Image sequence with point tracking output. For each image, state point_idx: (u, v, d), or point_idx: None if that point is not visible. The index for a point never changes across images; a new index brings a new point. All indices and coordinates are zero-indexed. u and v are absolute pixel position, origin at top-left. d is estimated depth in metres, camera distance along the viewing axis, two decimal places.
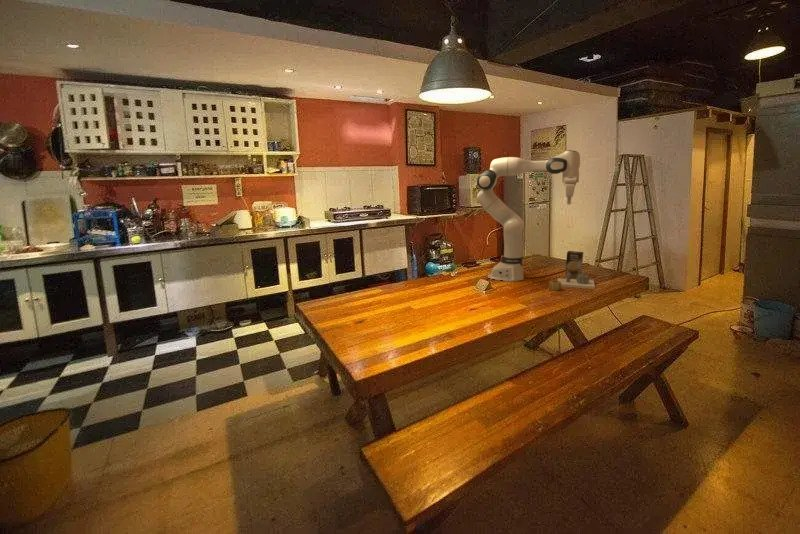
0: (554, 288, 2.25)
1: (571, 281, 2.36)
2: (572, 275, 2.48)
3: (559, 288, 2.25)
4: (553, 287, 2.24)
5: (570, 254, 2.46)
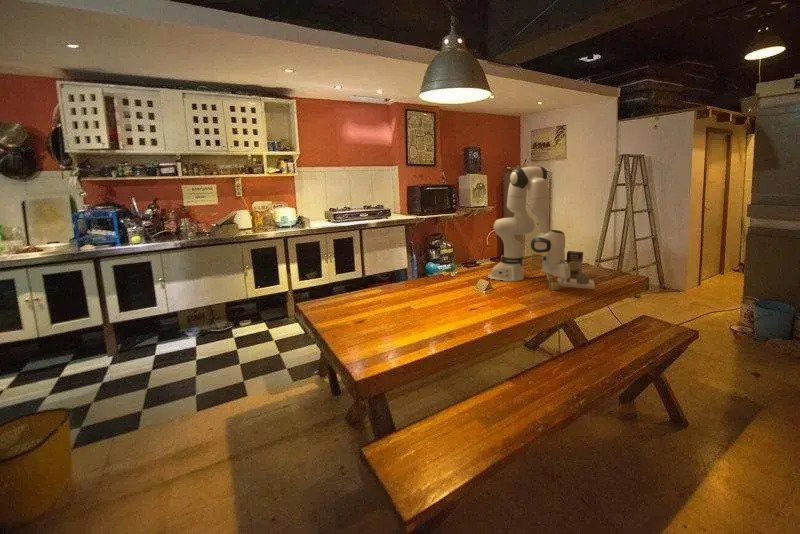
0: (554, 288, 2.25)
1: (571, 281, 2.36)
2: (572, 275, 2.48)
3: (559, 288, 2.25)
4: (553, 287, 2.24)
5: (570, 254, 2.46)
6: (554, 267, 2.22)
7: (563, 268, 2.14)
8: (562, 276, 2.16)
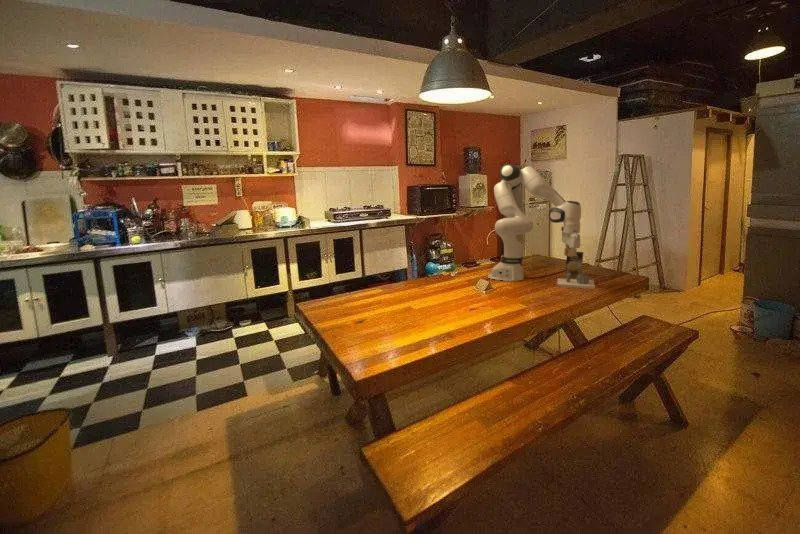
0: (567, 254, 2.29)
1: (571, 281, 2.36)
2: (572, 275, 2.48)
3: None
4: (566, 253, 2.30)
5: None
6: (568, 237, 2.28)
7: (573, 238, 2.20)
8: (572, 245, 2.22)
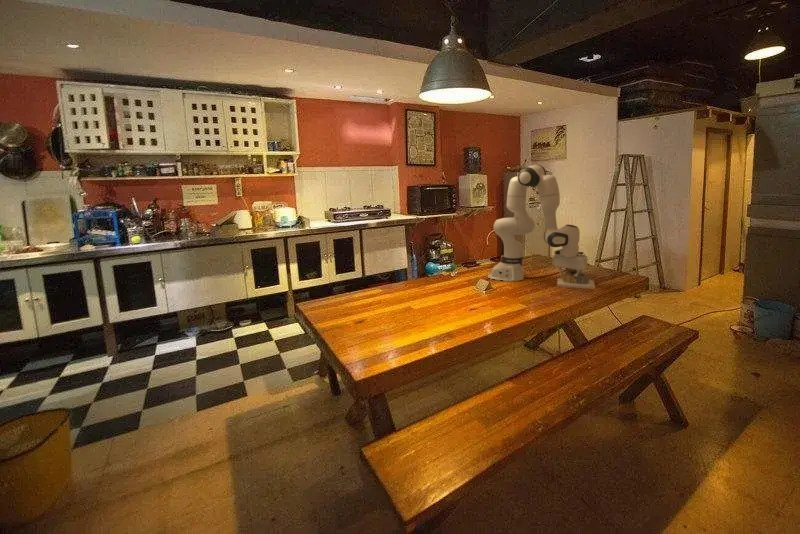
0: (569, 281, 2.33)
1: None
2: None
3: (573, 280, 2.33)
4: (568, 280, 2.32)
5: None
6: (569, 260, 2.31)
7: (582, 261, 2.24)
8: (580, 268, 2.26)
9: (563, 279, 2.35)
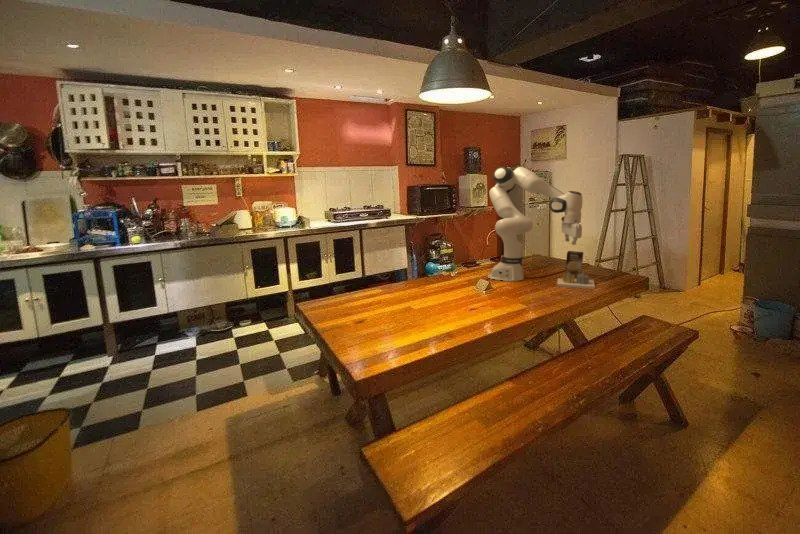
0: (569, 281, 2.33)
1: None
2: None
3: (573, 280, 2.33)
4: (568, 280, 2.32)
5: (570, 254, 2.46)
6: (569, 227, 2.30)
7: (575, 228, 2.22)
8: (573, 236, 2.24)
9: (563, 279, 2.35)
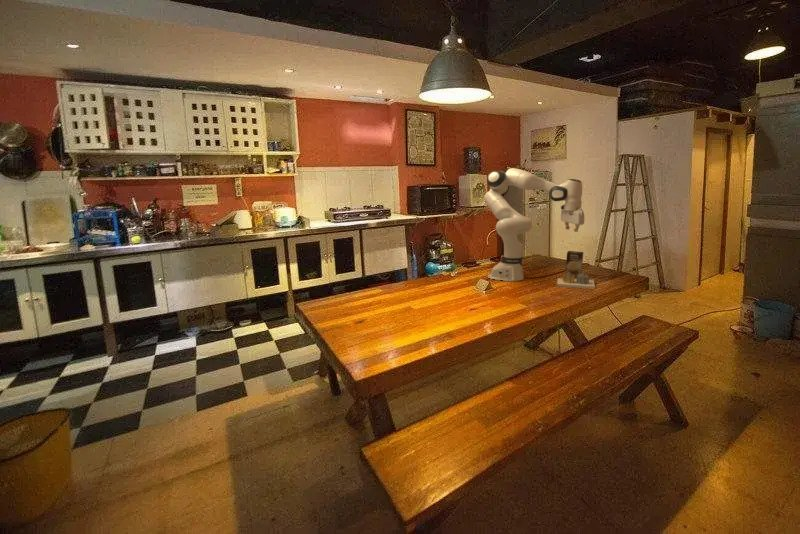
0: (569, 281, 2.33)
1: None
2: None
3: (573, 280, 2.33)
4: (568, 280, 2.32)
5: (570, 254, 2.46)
6: (570, 215, 2.33)
7: (577, 215, 2.25)
8: (576, 222, 2.27)
9: (563, 279, 2.35)
